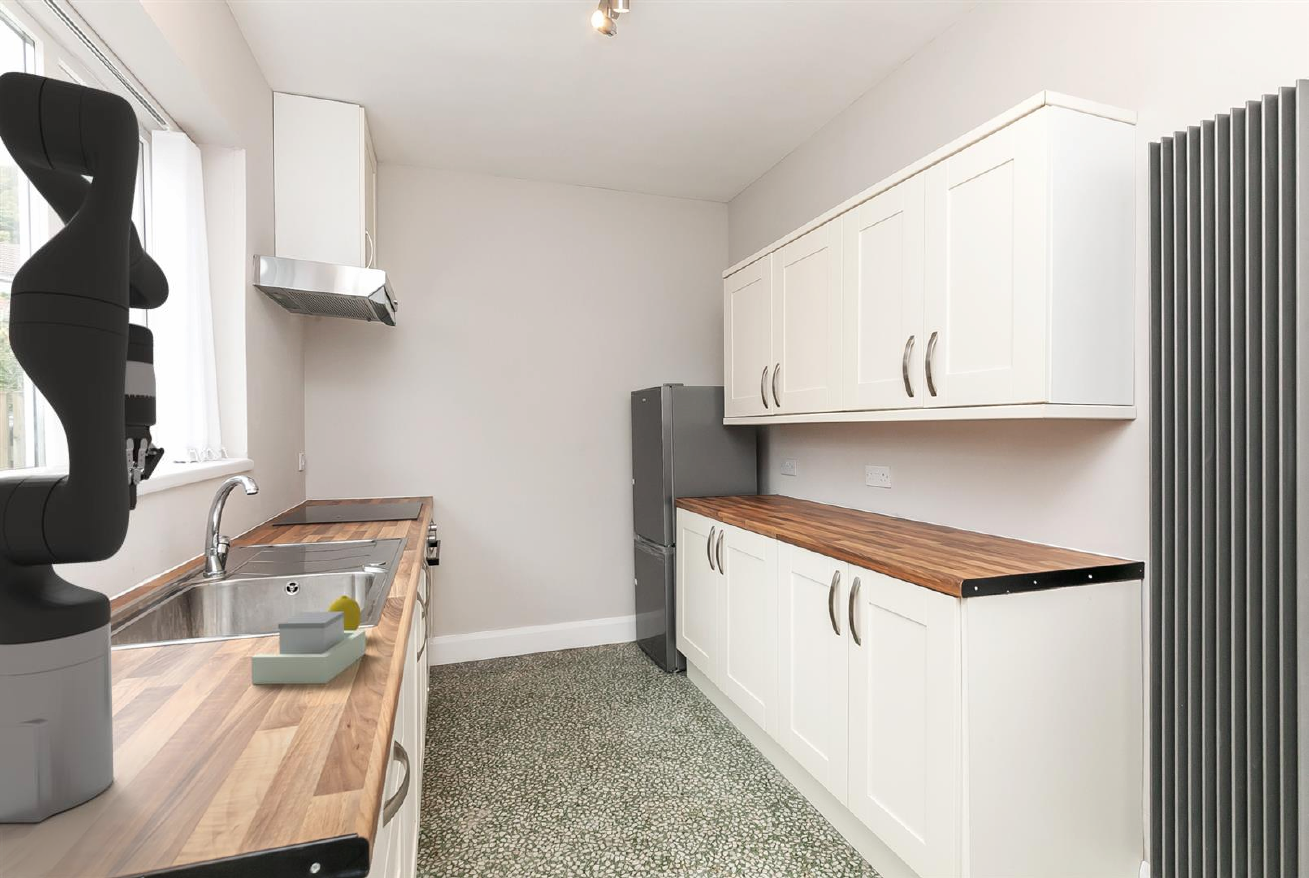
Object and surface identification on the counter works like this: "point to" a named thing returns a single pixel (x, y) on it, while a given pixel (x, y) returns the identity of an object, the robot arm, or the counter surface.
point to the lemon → (347, 612)
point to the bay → (308, 663)
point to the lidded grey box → (311, 632)
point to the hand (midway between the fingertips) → (124, 510)
